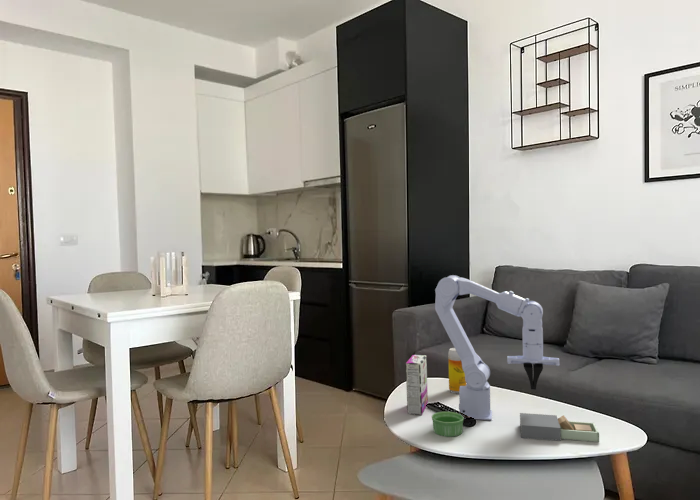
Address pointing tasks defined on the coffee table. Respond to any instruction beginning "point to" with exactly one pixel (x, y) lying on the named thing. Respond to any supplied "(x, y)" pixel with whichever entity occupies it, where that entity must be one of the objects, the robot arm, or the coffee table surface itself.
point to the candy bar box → (416, 384)
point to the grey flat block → (540, 426)
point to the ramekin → (447, 423)
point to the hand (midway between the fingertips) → (533, 388)
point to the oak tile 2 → (582, 427)
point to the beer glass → (455, 371)
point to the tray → (581, 433)
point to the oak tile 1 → (565, 423)
